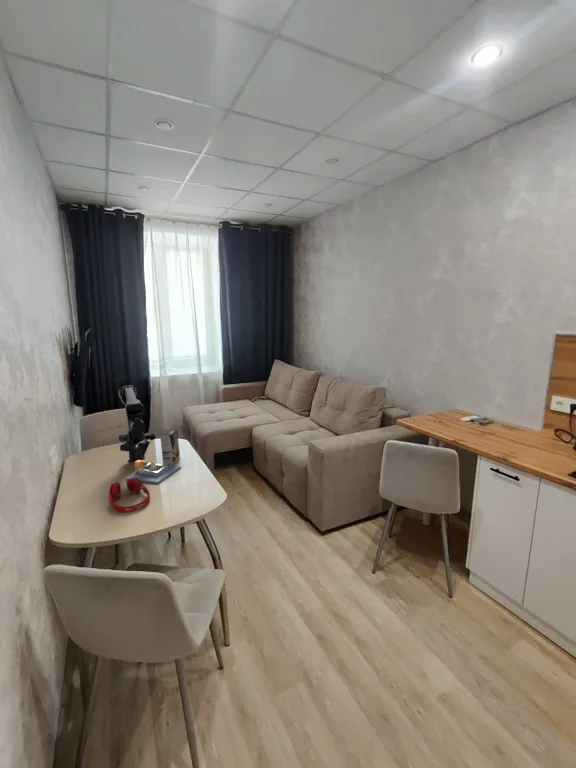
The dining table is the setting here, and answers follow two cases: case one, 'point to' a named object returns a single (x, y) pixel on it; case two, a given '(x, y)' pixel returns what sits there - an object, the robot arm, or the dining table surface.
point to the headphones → (134, 487)
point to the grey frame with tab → (144, 467)
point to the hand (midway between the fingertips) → (140, 458)
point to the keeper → (153, 478)
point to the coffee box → (170, 447)
